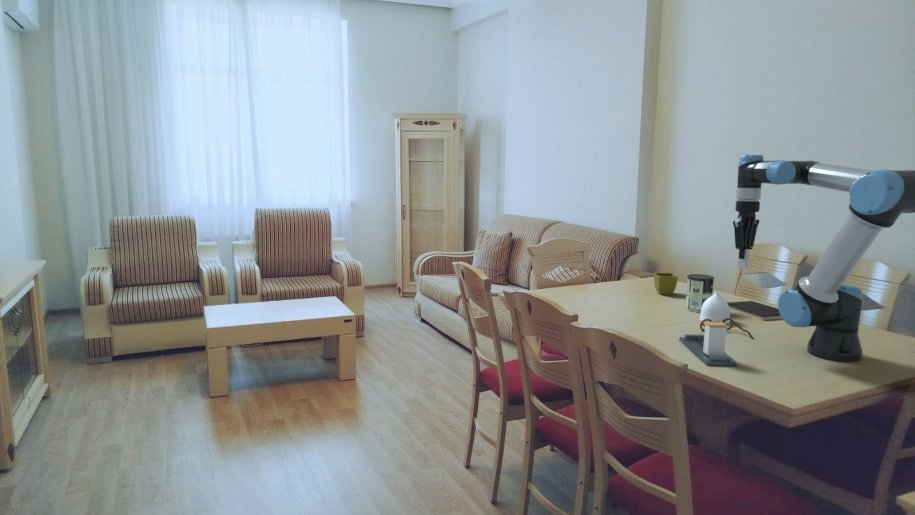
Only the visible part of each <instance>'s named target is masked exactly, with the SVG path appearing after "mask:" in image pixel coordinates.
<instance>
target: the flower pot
mask: <svg viewBox="0 0 915 515" xmlns="http://www.w3.org/2000/svg"><path fill="white" fill-rule="evenodd" d="M678 279H679V277H678V276H677V275H676V274H674V273H672V272H653V284H654V287H655V290H656V292H657V293H659V295H673V294H674V292H675V290H676V288H677V283H678Z"/></svg>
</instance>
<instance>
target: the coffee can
mask: <svg viewBox="0 0 915 515" xmlns="http://www.w3.org/2000/svg"><path fill="white" fill-rule="evenodd" d="M686 276H687V277H686V278H687V279H686V280H687V282H686V294H685V295H686V296H685V310H686V309H687V310H686V311H689V312H693V311H694V313H701V308H702V305H703V303H704V302H705V301H706V300H707V299H708V298H709V297H711V296H713V295H714V294H713V290H714V282H715V281H714V279H715V277H714V276H712V275H710V274H708V275H707V274H701V273H697V274H695V273H693V274H687V275H686Z"/></svg>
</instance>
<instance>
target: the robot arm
mask: <svg viewBox="0 0 915 515" xmlns="http://www.w3.org/2000/svg"><path fill="white" fill-rule="evenodd" d="M737 169H738V172H737V183H736V185H737V186H736V187H737V188H736V199H737V200H736V201H735V209H734V210H735V211H736V212H738V215H737V220H733V221H732V224H733V228H734V246H735V249H737V250H738V264H737V268H738V269H748V268H749V267H748V266H749V255H750V250H753V247H754V245H755V242H756V241H755V240H756V235H757V231H758V227H759V224H760V219H757V218H756V215H757V214H756V213H758V212H760V206H761V201H759V200H761V193H762V185H763V184H768V185H769V184H770V185H771V184H772V185H789V184H790V185H791V184H792V185H793V184H798V185H806V186H812V187H813V186H814V187H819V188H822V189H823V188H824V189H828V190H829V189H830V190H835V191H839V192H845V193H848V195H849V196H850V197H849V198H848V200H849V205H848V208H847V209H848V211H849V213H850V214H849V215H848V217H847V219H846V220H845V221H844V223H843V224H842V226H841V227H840V229H839V231H838V232H836V233H837V234H836V235H835V236H834V238H833V239H832V240H831V242H830V244H829V245H828V247H827V248H826V250H825V251H824V253H823V254H822V256H821V257H820V258H819V260H818V261H817V263H816V265H815V266H814V267H813V269H812V270H811V272H810V274H809V275H808V276H803V277H801V278H800V279H799V280H798V282H797V283H796V284H795V286H794V288H792V289H791V288H790V289H787V290H784V291H782V292H781V294H780V295H779V297H778V300H777V309H779V313H780V315H781V317H782V318H783V319H782V320H783V321H784V322H785V323H786V324H788V325H789V326H791V327H794V328H807V327H809V328H810V327H815V328H814V331H813V332H812V334H811V337H810V339H809V340H808V343H807V347H806V352H808V354H810V355H813V356H815V357H818V358H821V359H826V360H831V361H839V362H858V361H861V360H862V358H863V353H864V352H863V348H862V345H861V341H860V337H859V329H860V320H861V314H862V312H861V311H862V304H863V301H864V299H863V290H862V289H861V288H860V287H859V286H855V285H851V284H845V283H844V282H845V281H846V279H847V278H848V277H849V275H850V274H851V272H852V271H853V270H854V269H855V267H856V266H857V264H858V263H859V261H860V260H862V257H863V256H864V255H865V253H866V252H867V251H868V249H869V248H870V246H871V245H872V243H874V241H875V239H876V238H877V237H878V236H879V234H880V233H881V231H882V230H883V229H889V228H891V227H892V226H893V225H894V224H895V222H896V221H897V220H898V218H899V217H900V216H901V215H902V214H912V213H914V214H915V170H914V169H913V170H911V169H910V170H890V169H878V170H873V169H872V170H871V169H866V168H859V167H850V166H845V165H843V166H842V165H838V164H828V163H823V162H820V161H815V160H784V159H783V160H778V159H777V160H764V156H763V154H742V155H741V156H740V157H739V162H738V167H737Z"/></svg>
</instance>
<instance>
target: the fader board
mask: <svg viewBox="0 0 915 515" xmlns="http://www.w3.org/2000/svg"><path fill="white" fill-rule="evenodd" d="M678 341H679V342H680V341H681V342H682V343H681V342H680V343H681V344H683V346H685V347H686V348H687V349H688V350H689V351H690V352H691V354H693V355H695V356H696V357H697V358H698V359H699V360H700V361H701V362H702V363H703V364H704V365H705V366H708V367H710V366H711V367H712V366H714V367H737V365H738V362H737V361H736V360H735V359H734V358H732V357H731V356H730V355H729V354H727V353H726V352H725V351H724V355H707V354H705V353H704V352H703V346H704V335H703V334H687V333H686V334H684V336H680V337H679V339H678Z"/></svg>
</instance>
